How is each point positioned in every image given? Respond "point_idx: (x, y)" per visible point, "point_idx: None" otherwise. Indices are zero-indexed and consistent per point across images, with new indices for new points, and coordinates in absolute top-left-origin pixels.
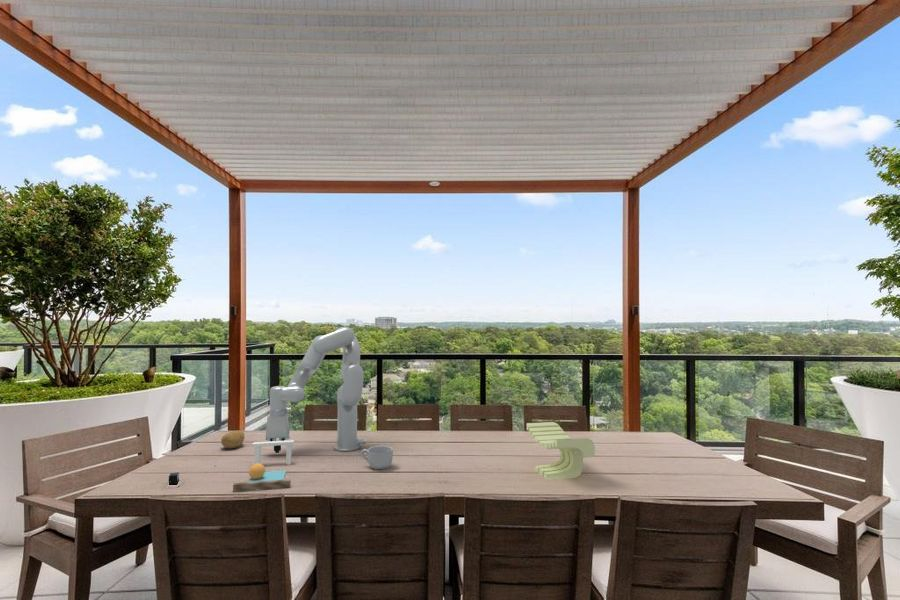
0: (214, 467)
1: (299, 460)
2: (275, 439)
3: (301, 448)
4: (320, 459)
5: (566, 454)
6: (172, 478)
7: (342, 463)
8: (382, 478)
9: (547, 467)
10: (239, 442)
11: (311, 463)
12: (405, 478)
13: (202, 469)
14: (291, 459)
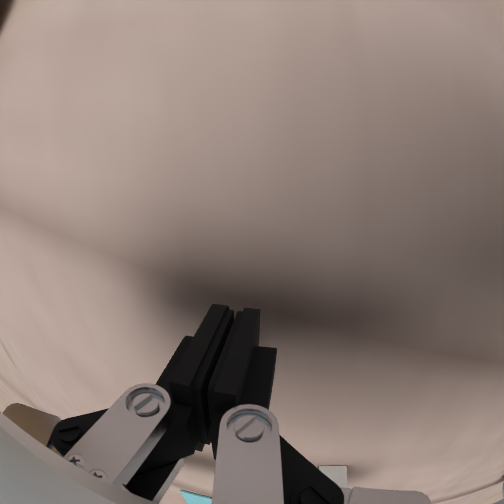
0: (18, 373)
1: (398, 447)
2: (155, 497)
3: (497, 95)
4: (486, 431)
5: None
6: None
7: (500, 456)
8: (476, 499)
9: None
10: None
11: (425, 471)
12: (498, 490)
13: (7, 372)
14: (344, 483)
